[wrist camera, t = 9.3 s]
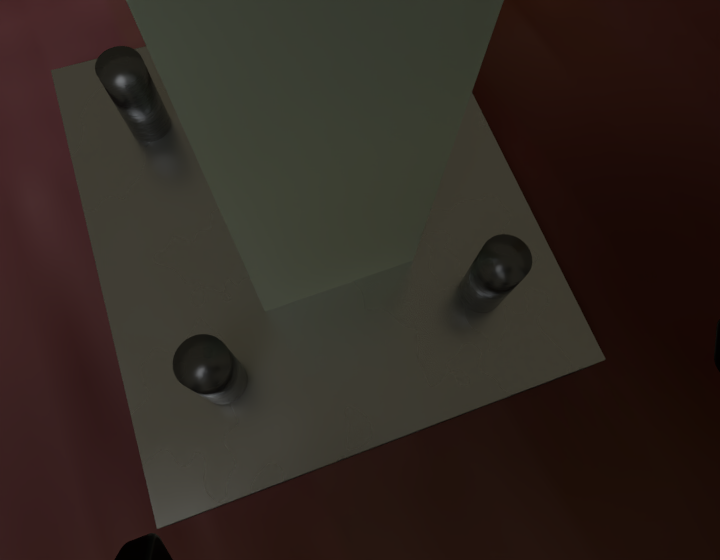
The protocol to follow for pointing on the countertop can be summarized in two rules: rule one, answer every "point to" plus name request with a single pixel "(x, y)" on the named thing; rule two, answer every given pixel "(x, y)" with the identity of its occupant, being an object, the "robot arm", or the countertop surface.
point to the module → (319, 123)
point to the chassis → (298, 306)
